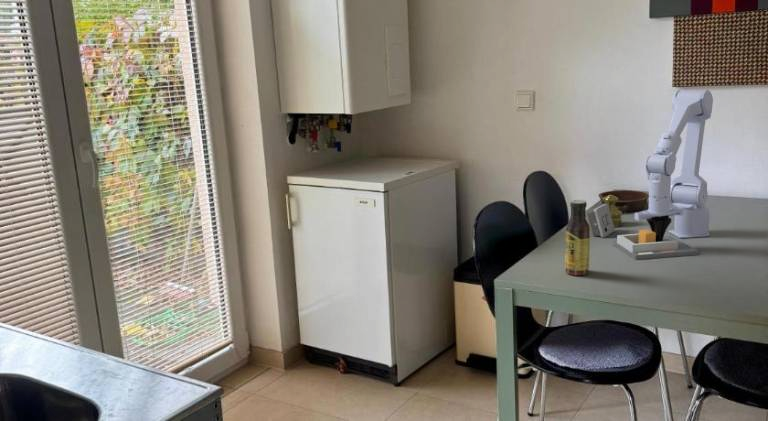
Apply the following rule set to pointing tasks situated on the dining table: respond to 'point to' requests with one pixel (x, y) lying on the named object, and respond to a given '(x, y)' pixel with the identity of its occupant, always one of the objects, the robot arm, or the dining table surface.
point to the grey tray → (652, 247)
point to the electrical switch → (601, 221)
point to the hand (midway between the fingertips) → (658, 241)
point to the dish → (627, 199)
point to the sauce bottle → (577, 240)
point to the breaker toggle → (647, 236)
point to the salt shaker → (613, 210)
